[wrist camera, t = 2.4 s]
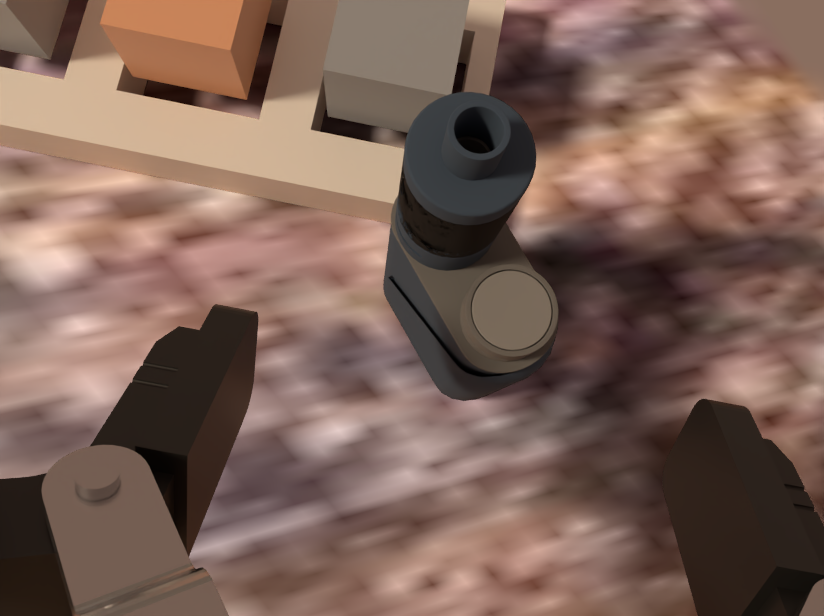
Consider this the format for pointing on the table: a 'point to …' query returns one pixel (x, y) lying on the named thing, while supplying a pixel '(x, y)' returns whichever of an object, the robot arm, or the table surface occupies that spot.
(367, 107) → the key right
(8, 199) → the table surface
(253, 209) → the table surface
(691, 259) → the table surface
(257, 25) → the key mid
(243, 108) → the table surface
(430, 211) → the vaping device
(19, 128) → the keypad base
